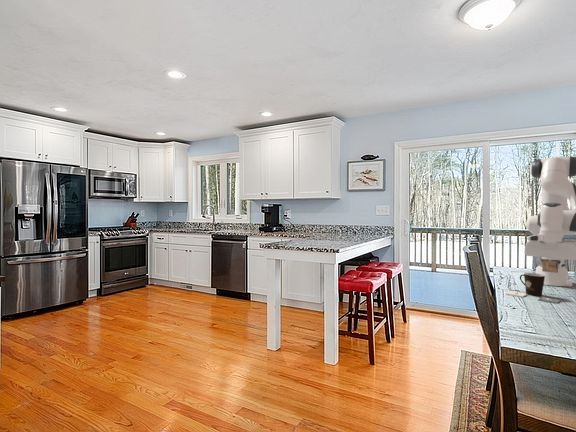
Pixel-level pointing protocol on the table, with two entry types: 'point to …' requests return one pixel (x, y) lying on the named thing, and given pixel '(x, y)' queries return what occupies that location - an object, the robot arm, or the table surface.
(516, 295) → the tile
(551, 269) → the letter cube
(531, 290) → the coffee mug
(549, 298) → the tile
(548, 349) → the table surface
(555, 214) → the robot arm
